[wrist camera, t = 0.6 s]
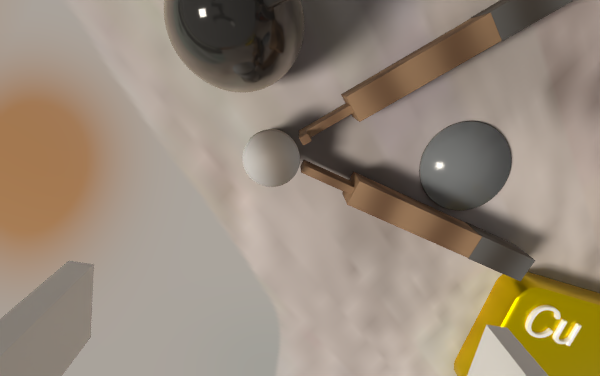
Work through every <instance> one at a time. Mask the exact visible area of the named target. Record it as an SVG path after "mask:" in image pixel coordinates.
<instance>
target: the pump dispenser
mask: <svg viewBox="0 0 600 376" xmlns="http://www.w3.org/2000/svg"><path fill="white" fill-rule="evenodd" d="M164 20H165V25H166V30H167V33H168V36H169V39H170V41H171V44H172V46H173V48H174V50H175V51H176V53H177V54H178V56H179V57H180V59H181V60H182V61H183V63H184V64H185V65H186V66H187V67H188V68H189V69H190V70H191V71H192V72H193V73H194V74H195V75H197V76H198V77H199V78H201V79H202V80H204V81H205V82H207V83H209V84H211V85H213V86H215V87H217V88H220V89H223V90H226V91H231V92H253V91H257V90H261V89H264V88H266V87H268V86H270V85H272V84H274V83H275V82H277V81H278V80H279V79H281V78H282V77H283V76H284V75H285V74H286V73H287V72H288V71H289V69H290V68H291V67H292V65H293V64H294V62H295V60H296V58H297V56H298V54H299V52H300V49H301V46H302V42H303V37H304V14H303V8H302V4H301V1H300V0H164Z"/></svg>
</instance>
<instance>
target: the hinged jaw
mask: <svg viewBox="0 0 600 376" xmlns="http://www.w3.org/2000/svg"><path fill="white" fill-rule="evenodd" d="M571 1H573V0H500V1H499V2H497V3H495V4H493V5H492V6H490V7H488V8H487V9H485V10H483V11H482V12H480V13H478V14H476V15H475V16H473V17H471V19H469V20H467V21H466V22H464V23H462V24H461V25H459V26H457V27H455V28H454V29H452V30H450V31H449V32H447V33H445V34H444V35H442V36H440V37H438V38H437V39H435V40H433V41H432V42H430V43H428V44H426V45H425V46H423V47H421V48H420V49H418V50H416V51H415V52H413V53H411V54H409V55H408V56H406V57H404V58H403V59H401V60H399V61H397V62H396V63H394V64H392V65H391V66H389V67H387V68H386V69H384V70H382V71H380V72H379V73H377V74H375V75H374V76H372V77H370V78H368V79H367V80H365V81H363V82H362V83H360V84H358V85H356V86H355V87H353V88H351V89H350V90H348V91H346V92H345V93H343V94H341V95H342V97H343V99H344V101H345V103H346V104H344V105H342V106H340V107H339V108H337V109H335V110H334V111H332V112H330V113H328V114H327V115H325V116H323V117H322V118H320V119H318V120H316V121H315V122H313V123H311V124H310V125H308V126H306V127H304V128H303V129H301V130H299V139H300V141H301V143H302V144H303V146H304V145H306V144H307V143H309V142H311V137H312V136H314V135H316V134H318V133H319V132H321V131H323V130H324V129H326V128H328V127H330V126H331V125H333V124H335V123H337V122H338V121H340V120H342V119H344V118H345V117H347V116H349V115H350V114H352V116H353V117H354V118H355V119H356V120H358V121H359V122H360V121H362V120H364V119H366V118H367V117H369V116H371V115H373V114H374V113H376V112H378V111H380V110H381V109H383V108H385V107H387V106H388V105H390V104H392V103H394V102H395V101H397V100H399V99H401V98H402V97H404V96H406V95H408V94H409V93H411V92H413V91H415V90H416V89H418V88H420V87H421V86H423V85H425V84H427V83H428V82H430V81H432V80H434V79H435V78H437V77H439V76H441V75H442V74H444V73H446V72H448V71H449V70H451V69H453V68H455V67H456V66H458V65H460V64H462V63H463V62H465V61H467V60H469V59H470V58H472V57H474V56H476V55H477V54H479V53H481V52H483V51H484V50H486V49H488V48H490V47H491V46H493V45H495V44H497V43H498V42H500V41H503V40H505V39H507V38H509V37H510V36H512V35H514V34H516V33H517V32H519V31H521V30H523V29H524V28H526V27H528V26H530V25H531V24H533V23H535V22H537V21H538V20H540V19H542V18H544V17H545V16H547V15H549V14H551V13H552V12H554V11H556V10H558V9H559V8H561V7H563V6H565V5H566V4H568V3H570V2H571ZM242 160H243V166H244V169H245V171H246V173H247V174H248V176H249V177H250V178H251V179H252V180H253V181H255V182H256V183H258V184H260V185H263V186H267V187H276V186H280V185H283V184H285V183H287V182H288V181H290V180H291V179H292V178H293V177H294V175H295V174H296V172H297V170H298V168H299V163H300V155H299V150H298V147H297V145H296V143H295V142H294V140H293V139H292V138H291V137H290V136H289V135H287V134H286V133H284V132H282V131H279V130H272V129H270V130H263V131H261V132H258V133H257V134H255V135H254V136H253V137H251V139H250V140H249V141H248V143H247V144H246V146H245V148H244V151H243V159H242Z"/></svg>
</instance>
